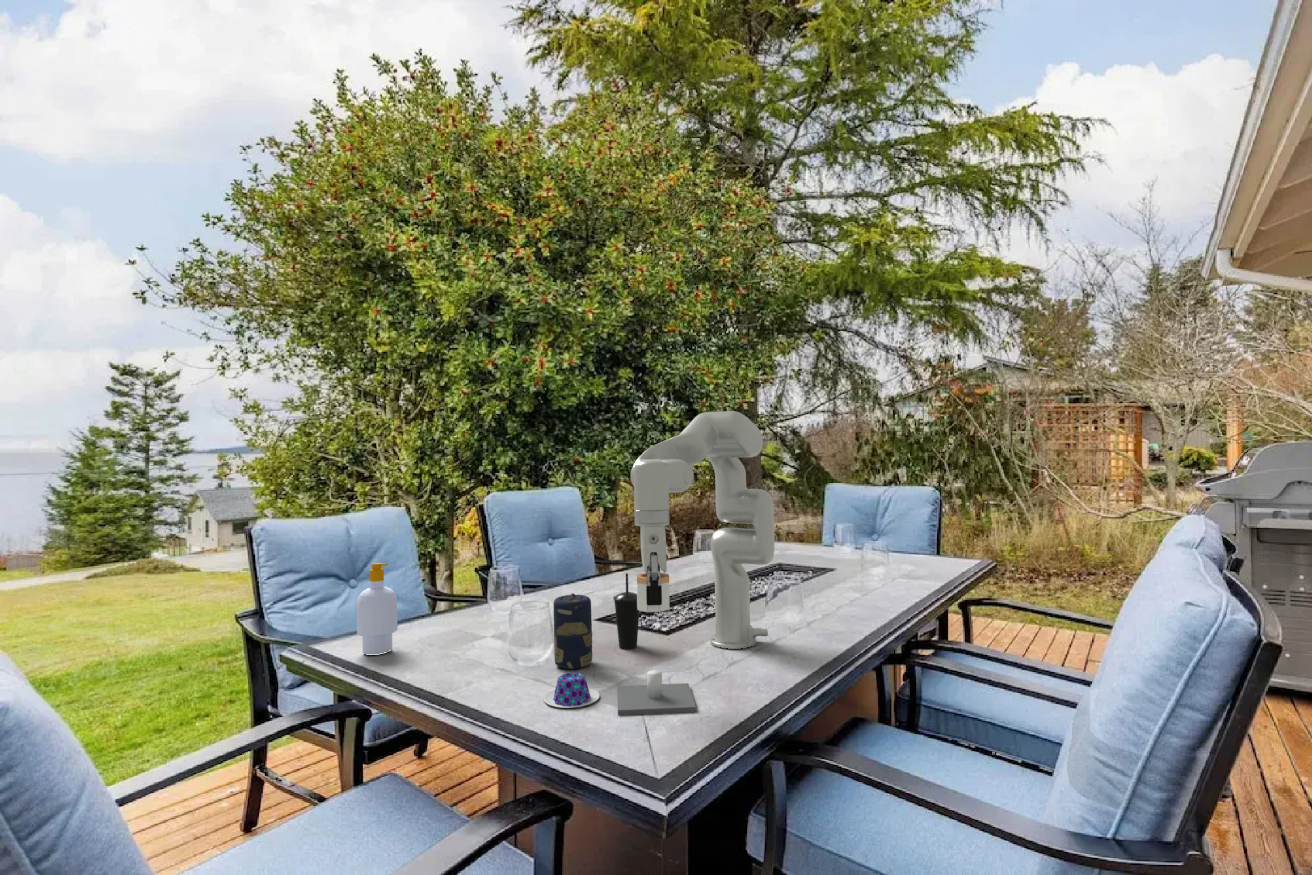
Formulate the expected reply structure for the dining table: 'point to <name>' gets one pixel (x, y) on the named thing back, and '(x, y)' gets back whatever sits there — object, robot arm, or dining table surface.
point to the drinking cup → (627, 618)
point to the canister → (572, 631)
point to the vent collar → (642, 594)
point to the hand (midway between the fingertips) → (653, 600)
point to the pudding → (571, 692)
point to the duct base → (654, 706)
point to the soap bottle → (377, 613)
